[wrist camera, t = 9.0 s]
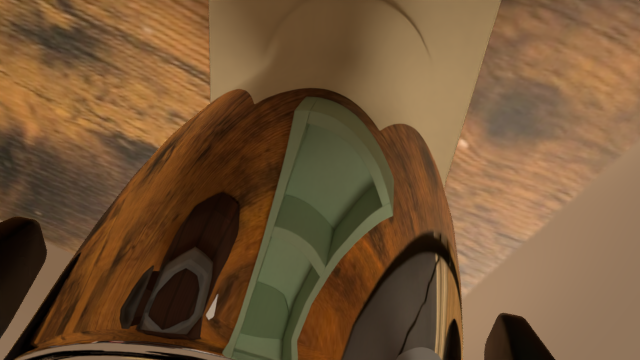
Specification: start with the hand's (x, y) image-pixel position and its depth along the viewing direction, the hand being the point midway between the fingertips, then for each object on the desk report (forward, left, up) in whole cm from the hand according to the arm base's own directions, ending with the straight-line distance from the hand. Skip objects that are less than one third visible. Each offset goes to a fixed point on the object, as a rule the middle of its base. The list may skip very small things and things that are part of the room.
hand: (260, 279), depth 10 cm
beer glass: (0, 0, -11) cm, 11 cm away
